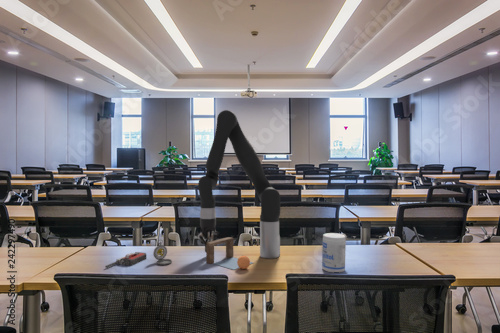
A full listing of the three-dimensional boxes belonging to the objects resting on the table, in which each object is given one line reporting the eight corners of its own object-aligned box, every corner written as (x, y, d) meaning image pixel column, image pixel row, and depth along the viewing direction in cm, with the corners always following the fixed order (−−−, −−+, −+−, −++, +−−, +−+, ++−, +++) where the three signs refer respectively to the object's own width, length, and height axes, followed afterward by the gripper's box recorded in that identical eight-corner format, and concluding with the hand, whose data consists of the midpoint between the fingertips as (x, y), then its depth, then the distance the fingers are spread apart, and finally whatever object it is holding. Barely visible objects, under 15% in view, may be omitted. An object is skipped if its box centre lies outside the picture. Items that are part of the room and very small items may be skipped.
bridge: (206, 262, 153) (206, 242, 153) (228, 255, 164) (228, 237, 164) (210, 264, 151) (210, 243, 151) (233, 257, 162) (233, 238, 162)
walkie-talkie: (133, 257, 164) (103, 269, 145) (133, 248, 163) (103, 259, 144) (149, 258, 161) (120, 272, 142) (149, 249, 161) (120, 261, 142)
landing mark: (233, 257, 161) (233, 257, 161) (253, 263, 153) (253, 262, 153) (212, 263, 152) (212, 263, 152) (233, 270, 143) (233, 269, 143)
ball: (254, 261, 143) (249, 270, 146) (247, 252, 147) (243, 260, 149) (244, 263, 140) (239, 272, 142) (237, 253, 144) (233, 262, 146)
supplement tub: (318, 270, 143) (318, 235, 143) (328, 264, 150) (328, 231, 150) (339, 275, 137) (339, 238, 137) (349, 269, 144) (349, 234, 144)
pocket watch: (168, 266, 149) (167, 243, 149) (150, 264, 150) (150, 242, 150) (175, 260, 157) (175, 239, 157) (158, 259, 158) (158, 238, 158)
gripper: (202, 219, 156) (202, 257, 156) (223, 216, 166) (223, 251, 166) (192, 217, 161) (192, 254, 161) (212, 214, 171) (213, 248, 171)
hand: (208, 252), depth 164 cm, fingers closed
